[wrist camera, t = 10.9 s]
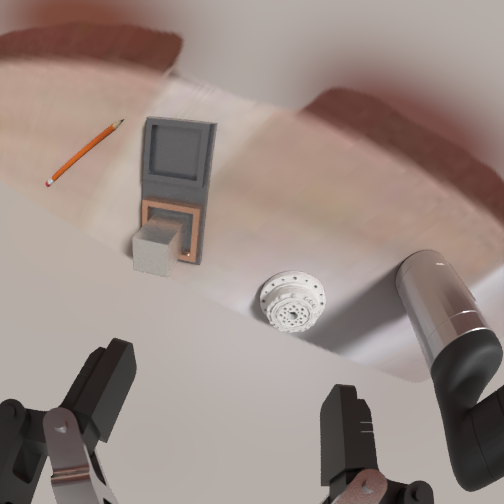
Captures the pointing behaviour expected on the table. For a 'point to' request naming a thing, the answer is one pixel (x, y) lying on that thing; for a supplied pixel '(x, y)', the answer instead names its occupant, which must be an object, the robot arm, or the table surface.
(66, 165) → the pencil
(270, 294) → the mechanical component
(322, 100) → the table surface
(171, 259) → the block
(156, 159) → the double frame tray
